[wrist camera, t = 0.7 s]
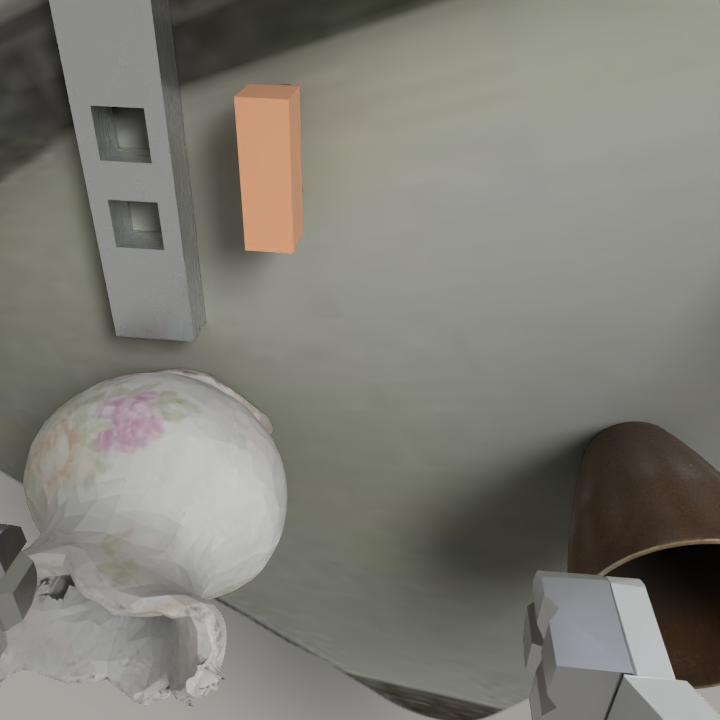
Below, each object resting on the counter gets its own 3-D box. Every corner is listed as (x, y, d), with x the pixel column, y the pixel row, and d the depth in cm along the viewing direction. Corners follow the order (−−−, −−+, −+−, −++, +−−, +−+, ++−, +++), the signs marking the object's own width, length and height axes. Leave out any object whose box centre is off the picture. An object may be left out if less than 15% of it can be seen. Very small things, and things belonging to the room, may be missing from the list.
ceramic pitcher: (181, 528, 68) (92, 806, 48) (14, 410, 60) (-179, 689, 40) (345, 430, 59) (319, 720, 39) (176, 276, 51) (33, 547, 31)
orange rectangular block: (262, 72, 43) (233, 96, 37) (309, 74, 42) (288, 99, 37) (269, 209, 48) (245, 250, 42) (311, 212, 47) (293, 253, 41)
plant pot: (737, 372, 51) (843, 532, 38) (720, 514, 59) (803, 689, 45) (533, 392, 54) (565, 548, 40) (543, 525, 61) (572, 693, 48)
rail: (67, -35, 40) (42, -32, 38) (165, -32, 40) (146, -28, 37) (131, 316, 53) (116, 335, 51) (205, 321, 53) (194, 341, 51)
